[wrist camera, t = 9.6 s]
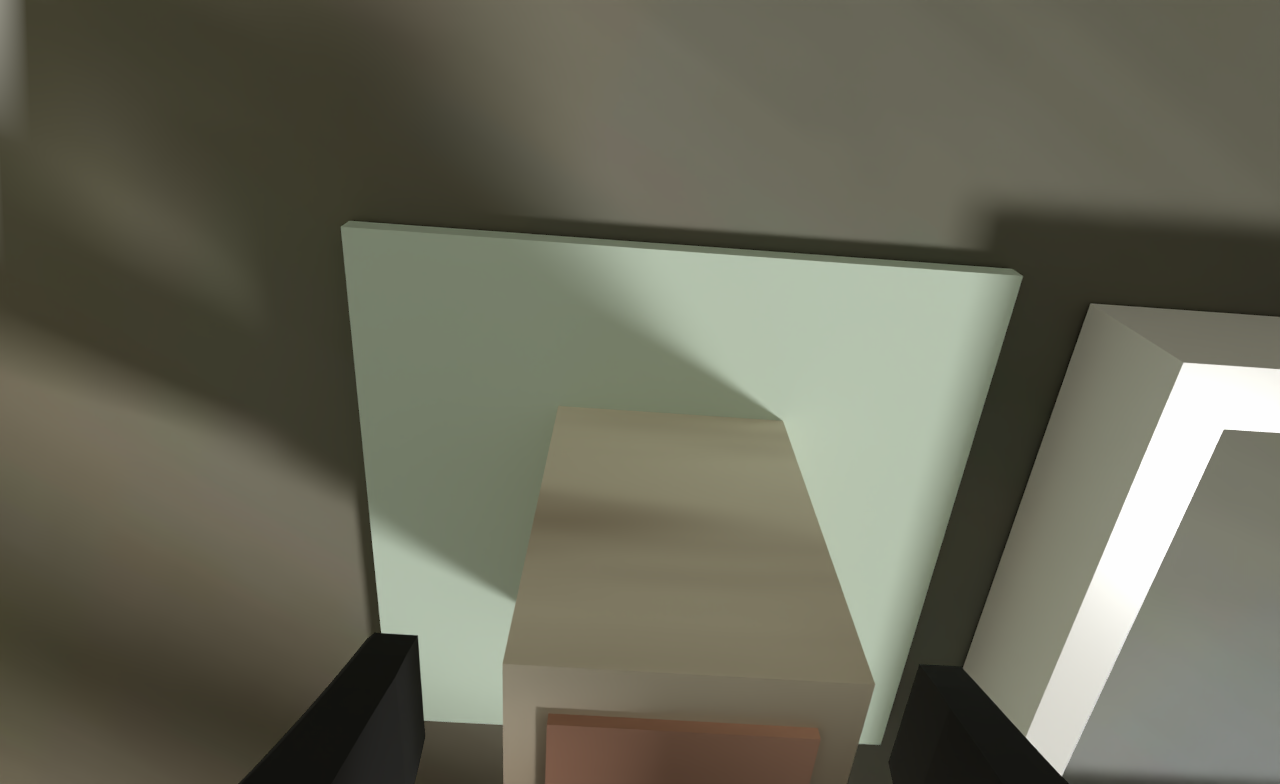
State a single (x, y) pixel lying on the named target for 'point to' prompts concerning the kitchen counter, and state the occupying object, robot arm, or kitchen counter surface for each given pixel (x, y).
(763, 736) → the birch block
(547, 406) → the pad
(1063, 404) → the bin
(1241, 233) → the kitchen counter surface
